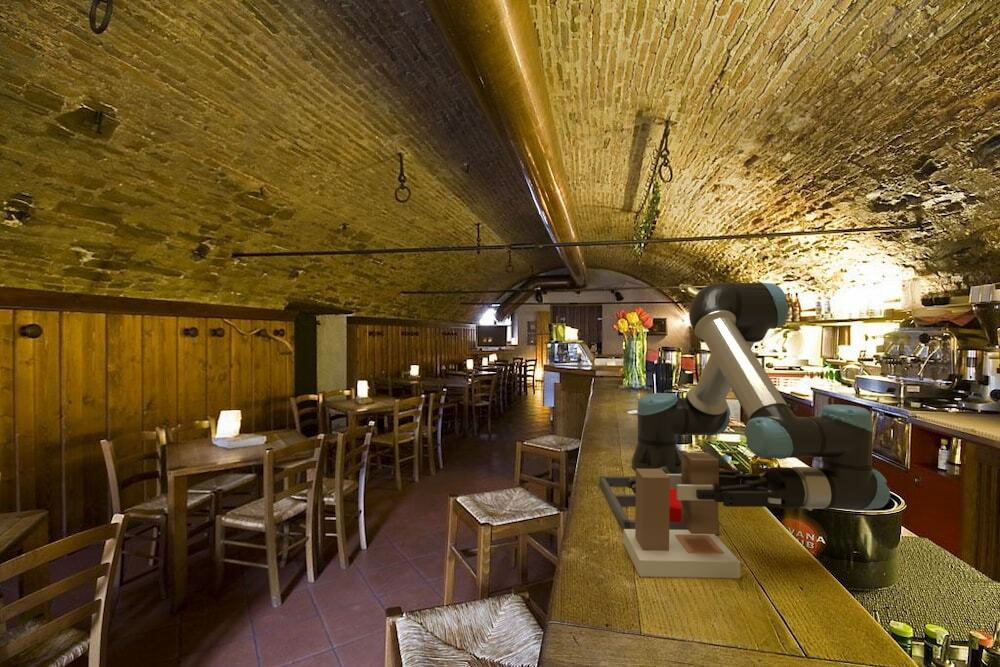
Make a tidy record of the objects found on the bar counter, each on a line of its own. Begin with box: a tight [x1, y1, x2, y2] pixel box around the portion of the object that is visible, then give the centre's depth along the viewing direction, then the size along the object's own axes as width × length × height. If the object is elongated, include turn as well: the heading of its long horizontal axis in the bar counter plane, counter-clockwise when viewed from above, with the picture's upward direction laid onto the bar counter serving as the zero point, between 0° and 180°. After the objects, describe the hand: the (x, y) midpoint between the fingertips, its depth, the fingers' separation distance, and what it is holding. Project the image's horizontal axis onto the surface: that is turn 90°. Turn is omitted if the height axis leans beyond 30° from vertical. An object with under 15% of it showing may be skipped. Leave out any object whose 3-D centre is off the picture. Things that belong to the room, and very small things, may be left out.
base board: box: [622, 469, 741, 579], centre depth 85 cm, size 12×18×17 cm, turn 88°
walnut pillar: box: [681, 451, 720, 534], centre depth 84 cm, size 5×5×14 cm
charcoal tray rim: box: [599, 475, 720, 536], centre depth 109 cm, size 29×20×2 cm
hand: (672, 486), depth 85 cm, fingers closed on walnut pillar, 5 cm apart
